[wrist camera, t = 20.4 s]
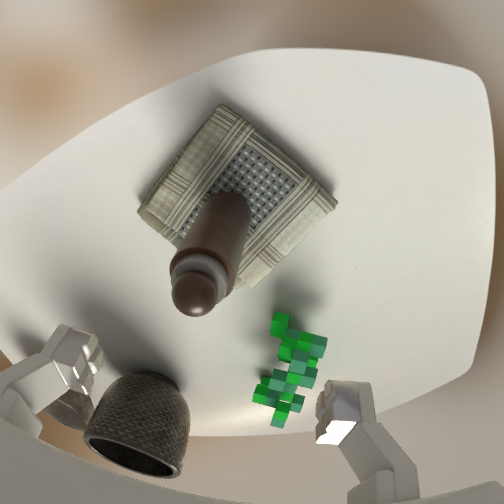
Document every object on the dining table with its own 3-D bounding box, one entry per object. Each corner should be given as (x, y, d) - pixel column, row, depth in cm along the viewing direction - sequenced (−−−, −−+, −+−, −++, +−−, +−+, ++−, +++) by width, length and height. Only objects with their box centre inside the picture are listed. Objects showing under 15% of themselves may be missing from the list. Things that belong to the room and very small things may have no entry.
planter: (127, 398, 68) (103, 462, 52) (103, 348, 58) (65, 423, 42) (204, 413, 67) (187, 485, 51) (194, 365, 56) (169, 454, 40)
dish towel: (221, 97, 32) (215, 99, 29) (339, 199, 37) (343, 210, 34) (137, 211, 40) (127, 221, 38) (240, 288, 45) (237, 303, 43)
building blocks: (239, 297, 50) (232, 348, 38) (318, 286, 49) (334, 335, 37) (257, 386, 57) (255, 439, 45) (322, 378, 56) (333, 430, 44)
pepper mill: (198, 193, 35) (143, 279, 22) (247, 188, 34) (218, 276, 21) (208, 237, 38) (165, 334, 25) (254, 233, 37) (233, 335, 24)
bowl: (47, 385, 75) (33, 409, 67) (32, 346, 64) (14, 374, 56) (105, 413, 77) (94, 440, 68) (99, 379, 66) (84, 411, 57)
